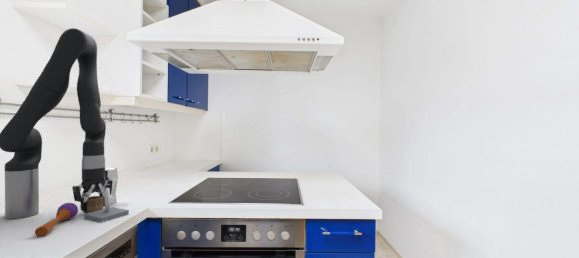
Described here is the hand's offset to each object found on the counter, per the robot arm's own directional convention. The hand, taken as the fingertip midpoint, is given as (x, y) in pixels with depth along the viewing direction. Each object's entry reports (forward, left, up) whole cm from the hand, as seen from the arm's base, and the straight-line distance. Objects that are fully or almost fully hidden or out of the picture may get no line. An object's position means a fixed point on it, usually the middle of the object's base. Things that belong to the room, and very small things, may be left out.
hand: (93, 209), depth 109 cm
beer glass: (-7, +10, -1) cm, 12 cm away
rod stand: (+10, -1, -1) cm, 10 cm away
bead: (0, 0, -1) cm, 1 cm away
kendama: (+5, -14, -2) cm, 15 cm away
